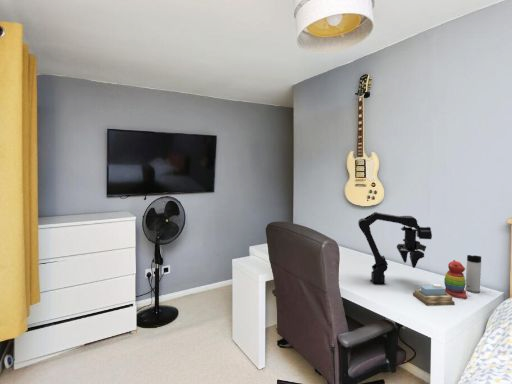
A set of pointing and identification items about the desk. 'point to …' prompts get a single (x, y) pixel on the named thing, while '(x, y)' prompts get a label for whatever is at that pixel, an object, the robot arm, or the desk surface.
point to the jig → (434, 299)
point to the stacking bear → (455, 280)
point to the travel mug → (473, 273)
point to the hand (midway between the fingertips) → (409, 265)
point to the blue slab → (433, 290)
